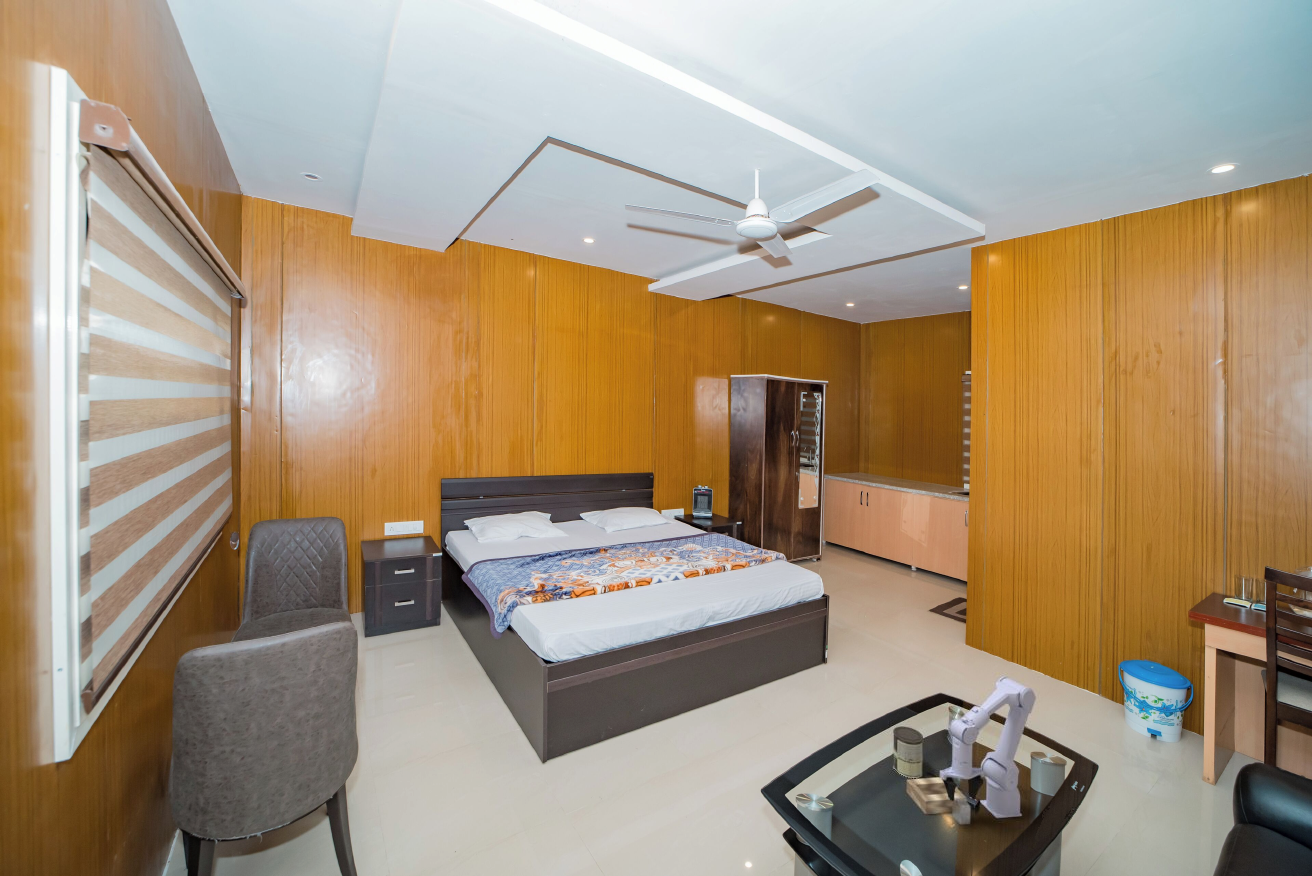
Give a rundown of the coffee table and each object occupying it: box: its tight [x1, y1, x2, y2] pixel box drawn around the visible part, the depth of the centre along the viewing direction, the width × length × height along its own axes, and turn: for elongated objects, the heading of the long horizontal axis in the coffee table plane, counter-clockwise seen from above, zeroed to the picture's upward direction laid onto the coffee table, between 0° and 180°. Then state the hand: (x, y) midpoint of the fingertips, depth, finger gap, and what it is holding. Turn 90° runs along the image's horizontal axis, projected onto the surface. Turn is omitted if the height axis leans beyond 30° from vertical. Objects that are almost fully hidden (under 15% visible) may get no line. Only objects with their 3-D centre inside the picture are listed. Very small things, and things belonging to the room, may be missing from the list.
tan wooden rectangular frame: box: [906, 776, 968, 815], centre depth 185 cm, size 15×11×4 cm
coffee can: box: [892, 726, 924, 779], centre depth 202 cm, size 10×10×14 cm
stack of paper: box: [952, 798, 971, 825], centre depth 177 cm, size 3×4×7 cm
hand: (961, 798), depth 176 cm, fingers open, 7 cm apart
